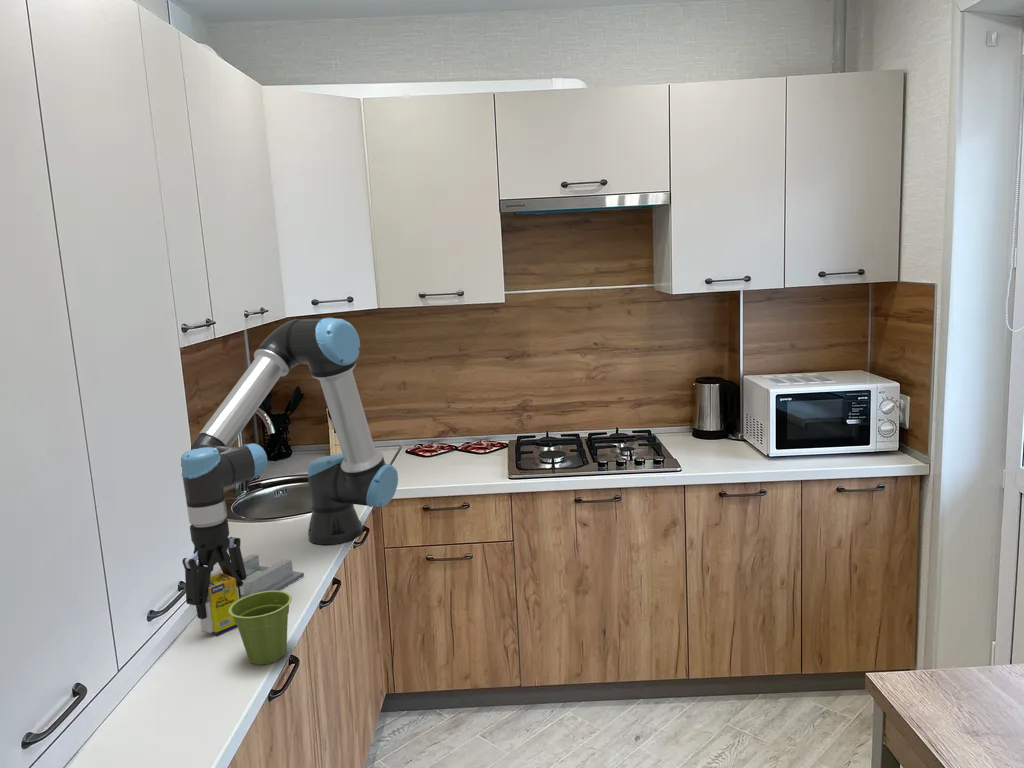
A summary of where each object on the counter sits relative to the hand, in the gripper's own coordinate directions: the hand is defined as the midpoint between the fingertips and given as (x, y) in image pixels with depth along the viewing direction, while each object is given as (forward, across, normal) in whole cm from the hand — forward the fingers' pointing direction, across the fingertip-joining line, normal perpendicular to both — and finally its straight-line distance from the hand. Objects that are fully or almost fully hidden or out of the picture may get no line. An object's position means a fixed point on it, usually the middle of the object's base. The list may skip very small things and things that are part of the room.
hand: (221, 622), depth 161 cm
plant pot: (+1, +6, +19) cm, 20 cm away
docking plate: (+1, -18, -9) cm, 20 cm away
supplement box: (+1, 0, 0) cm, 1 cm away
